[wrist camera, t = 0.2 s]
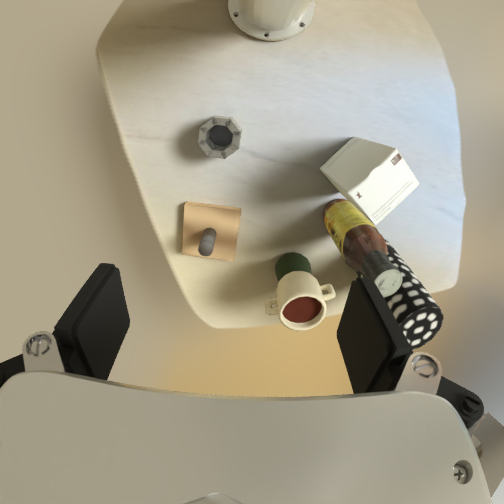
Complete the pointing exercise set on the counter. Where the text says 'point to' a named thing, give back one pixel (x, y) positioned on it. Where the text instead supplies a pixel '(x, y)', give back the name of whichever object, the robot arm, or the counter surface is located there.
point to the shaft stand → (210, 230)
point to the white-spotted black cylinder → (412, 305)
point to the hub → (209, 145)
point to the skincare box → (370, 177)
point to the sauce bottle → (361, 245)
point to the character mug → (298, 294)
